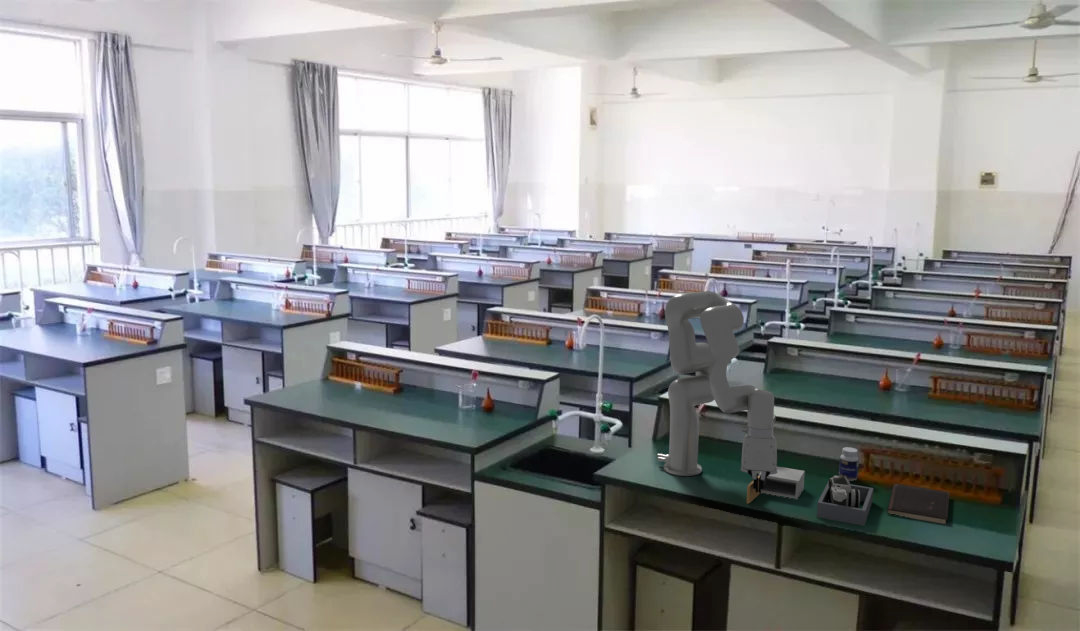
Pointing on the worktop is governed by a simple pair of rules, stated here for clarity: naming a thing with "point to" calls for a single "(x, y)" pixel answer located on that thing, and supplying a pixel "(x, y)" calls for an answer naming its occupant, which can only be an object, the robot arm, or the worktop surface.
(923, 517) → the hardcover book
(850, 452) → the pill bottle
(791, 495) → the box
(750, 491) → the side door
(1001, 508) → the worktop surface
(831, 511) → the box
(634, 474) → the worktop surface
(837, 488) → the camera
